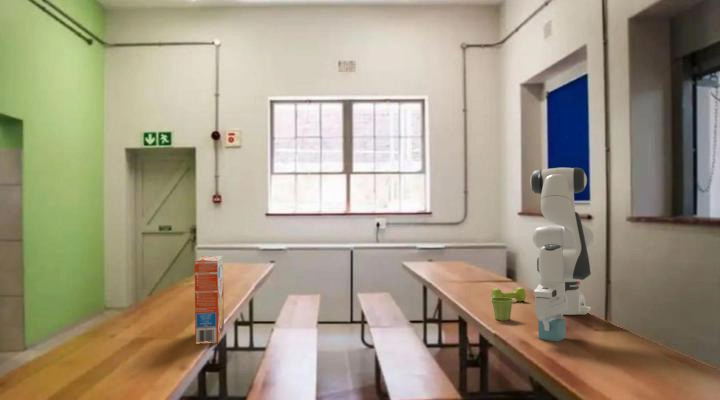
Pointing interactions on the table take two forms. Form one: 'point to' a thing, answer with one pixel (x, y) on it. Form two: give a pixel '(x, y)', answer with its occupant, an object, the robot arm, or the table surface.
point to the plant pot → (502, 308)
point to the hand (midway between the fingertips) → (553, 327)
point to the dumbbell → (510, 294)
